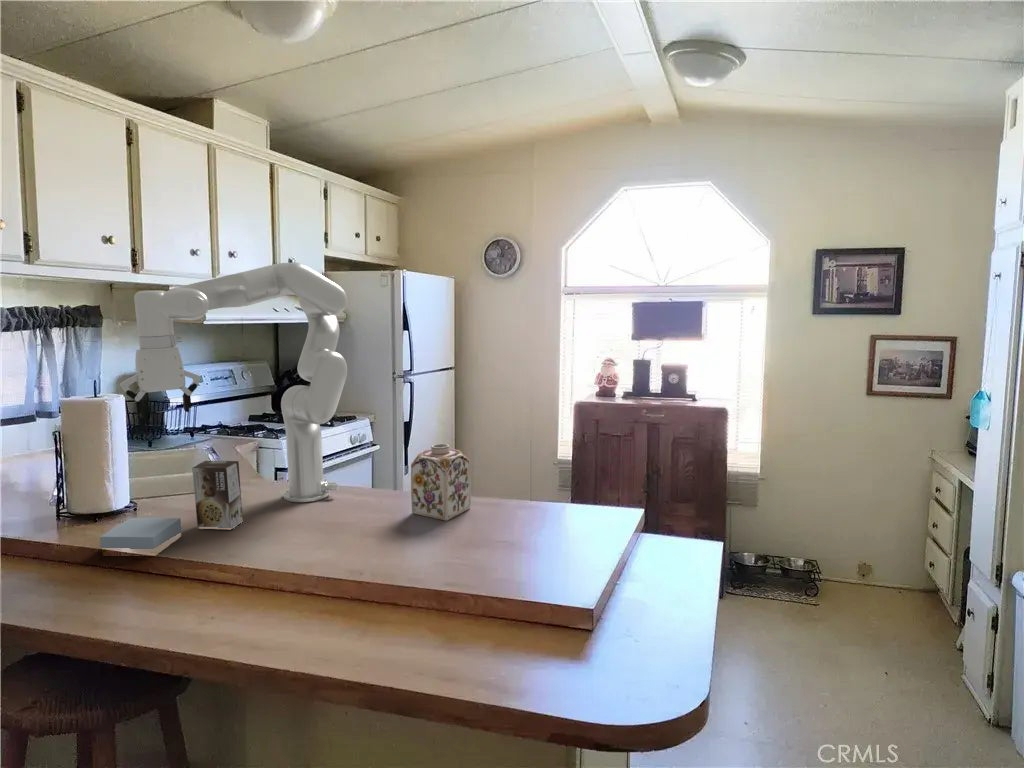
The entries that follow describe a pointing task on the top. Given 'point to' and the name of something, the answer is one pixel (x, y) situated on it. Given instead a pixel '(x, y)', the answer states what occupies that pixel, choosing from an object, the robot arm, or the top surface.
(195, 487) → the cookie box
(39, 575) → the top surface
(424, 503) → the decorative jar
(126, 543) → the grey block
